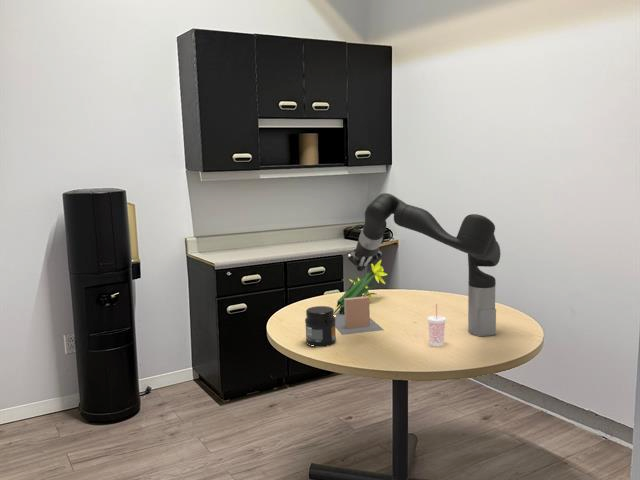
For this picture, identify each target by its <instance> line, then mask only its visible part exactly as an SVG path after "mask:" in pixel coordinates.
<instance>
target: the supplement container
mask: <svg viewBox="0 0 640 480" xmlns="http://www.w3.org/2000/svg"><path fill="white" fill-rule="evenodd" d="M334 312H335V310H334V308H333V307H330V306H326V305H325V306H323V305H320V306H319V305H318V306H312V307H309V308H307V309H306V311H305V314H306V315H305V316H306V317H305V319H304V323H305V342H306V344H307V343H308V344H310V345H314V346H324V347H328V346H327V345H329V346H332V345H334V344H335V343H336V341H337V338H336V337H337V336H336V328H335V321H336V319H335V317H334V316H333V315H334V314H335V313H334ZM308 344H307V345H308ZM331 344H332V345H331ZM310 345H309V346H310Z"/></svg>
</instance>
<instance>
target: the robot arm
mask: <svg viewBox="0 0 640 480" xmlns="http://www.w3.org/2000/svg"><path fill="white" fill-rule="evenodd" d="M392 215H393V222H394V224H395V225H396V226H399V227H402V228H404V229H408V230H411V231H414V232H417V233H419V234H422V235H425V236H427V237H429V238H431V239H433V240H435V241H437V242H439V243H442V244H444V245H446V246H449V247H451V248H452V249H456V250H458V251H460V252H463V253H465V254H467V262H468V282H467V283H468V289H467V290H468V294H467V295H468V299H467V301H468V302H467V304H468V306H467V308H468V310H467V315H468V316H467V320H468V321H467V327H468V328H467V332H468V333H469V334H471V335H474V336H478V337H490V336H496V335H497V308H496V286H497V285H496V277H494V276H493V275H491V274H488V273H487V272H486V273H485V272H484V271H482V270H481V269H480V268H479V267H489V268H491V267H492V268H493V267H496V266H497V265H498V263H499V262H500V261H501V248H500V247H501V246H500V244H499V242H498V241H497V239H496V235H495V231H496V225H495V223H494V222H493V221H492V220H491V219H489V218H488V217H486V216H484V215H481V214H476V213H475V214H474V213H472V214H468V215H467V216H466V215H465V217H464V218H463V220H462V222H461V224H460V227H459V230H458V232H457V234H456V235H457V236H453V235H452V234H450V233H449V232H447V231H446V230H445V229H444V228H443V227H442V226H441V224H440V222H438V221H437V219H436V218H435V217H434V216H433V214H431V213H430V211H428V210H426V209H424V208H421V207H419V206H414V205H410V204H407V203H406V202H404V201H403V200H401V199H400V198H398V197H396V196H395V195H393V194H391V193H385V192H384V193H380V194H378V196H377V197H375V199H374V200H372V202H370V203H369V204H368V205H367V207H366V209H365V211H364V224H363V228H362V230H361V231H360V234H359V237H358V240H357V243H356V247H355V249H354V250H353V252H347V253H346V255H347V258H348V261H350V262H351V263H352V264H353V265H354V266H355V267H356V270H357V271H358V272H363V271H364V270H365V269H366V267H367V265H371V264H372V263H373V264H374V263H376V262H377V261H379V260H381V258H383V253H382V250H381V249H380V247H381V244H382V243H383V239H384V234H385V232H386V229H387V220H388V218H390V217H391V216H392Z"/></svg>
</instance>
